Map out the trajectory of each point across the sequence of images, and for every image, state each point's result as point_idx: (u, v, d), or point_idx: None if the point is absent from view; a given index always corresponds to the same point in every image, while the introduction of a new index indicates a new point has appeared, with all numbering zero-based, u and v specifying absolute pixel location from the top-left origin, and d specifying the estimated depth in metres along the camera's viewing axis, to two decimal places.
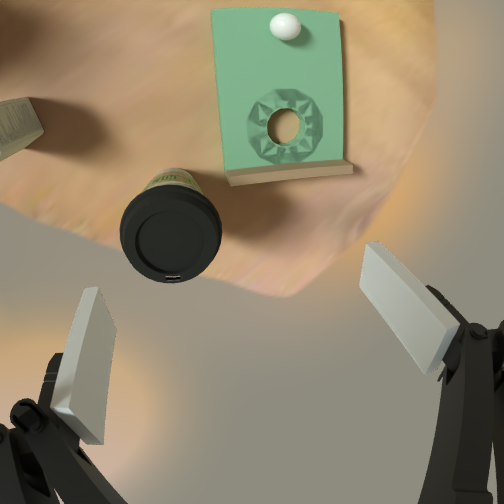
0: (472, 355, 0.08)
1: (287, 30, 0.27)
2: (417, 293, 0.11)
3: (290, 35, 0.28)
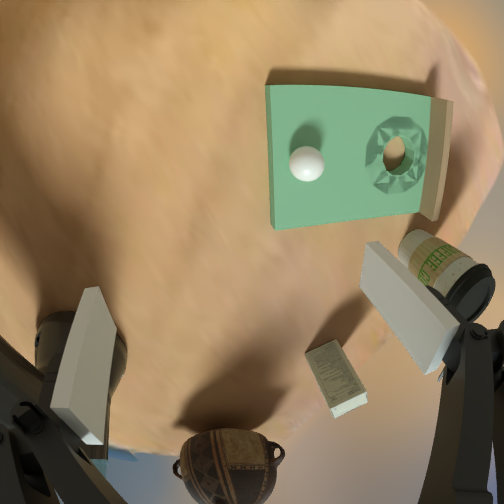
0: (472, 355, 0.08)
1: (320, 170, 0.29)
2: (417, 293, 0.11)
3: (323, 164, 0.29)
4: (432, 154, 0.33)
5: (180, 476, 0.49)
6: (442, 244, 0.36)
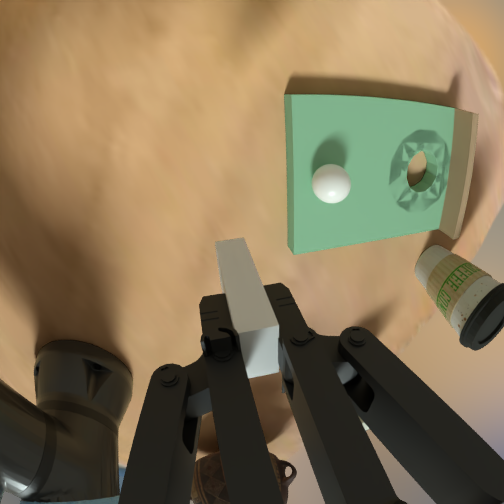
0: (303, 367, 0.09)
1: (346, 191, 0.26)
2: (248, 290, 0.12)
3: (350, 184, 0.26)
4: (455, 169, 0.30)
5: None
6: (462, 262, 0.34)
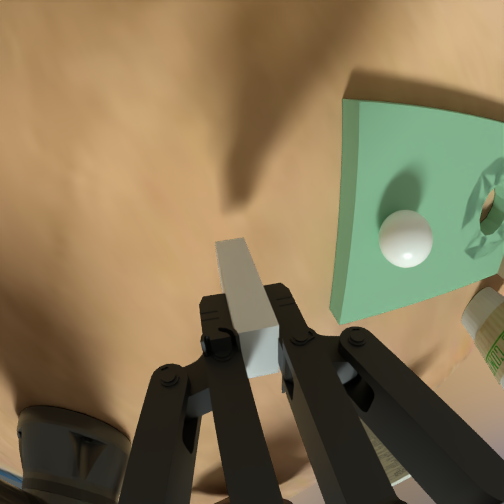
0: (303, 367, 0.09)
1: (428, 252, 0.16)
2: (248, 290, 0.12)
3: (432, 241, 0.17)
4: None
5: None
6: None
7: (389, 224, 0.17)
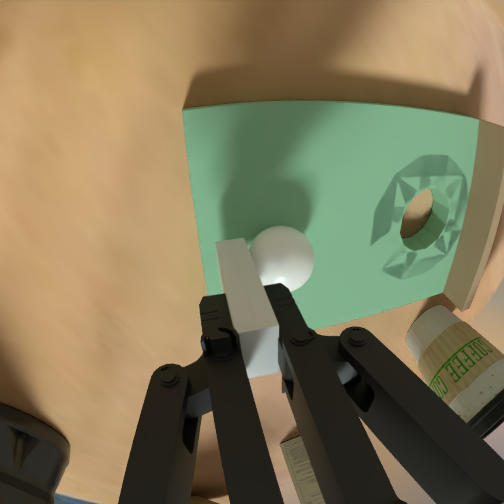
0: (303, 367, 0.09)
1: (312, 267, 0.16)
2: (248, 290, 0.12)
3: None
4: (475, 213, 0.19)
5: None
6: (469, 337, 0.23)
7: (259, 251, 0.15)
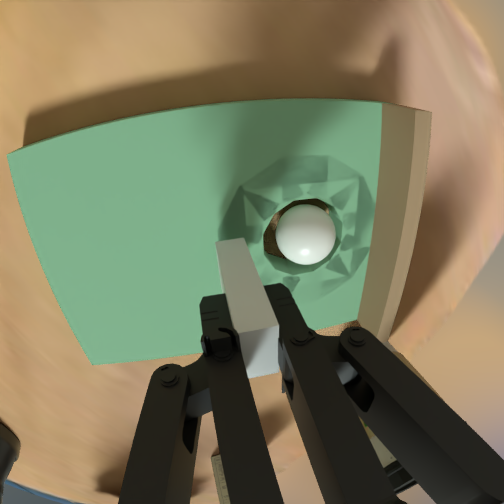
0: (303, 367, 0.09)
1: None
2: (248, 290, 0.12)
3: None
4: (382, 227, 0.18)
5: None
6: None
7: (305, 229, 0.17)
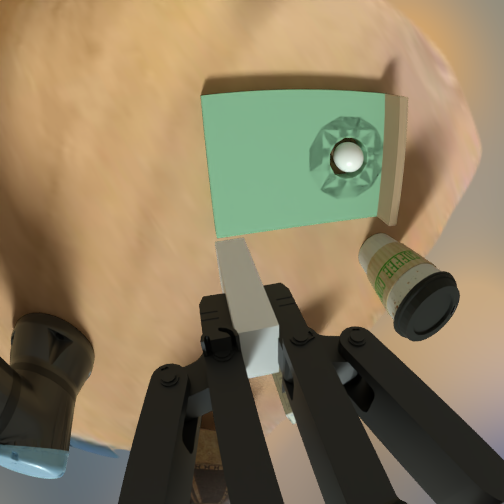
0: (303, 367, 0.09)
1: None
2: (248, 290, 0.12)
3: None
4: (387, 155, 0.33)
5: None
6: (402, 250, 0.37)
7: (349, 151, 0.32)
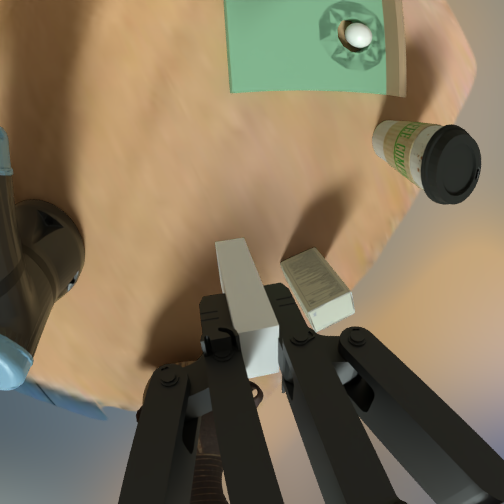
0: (303, 367, 0.09)
1: None
2: (248, 290, 0.12)
3: None
4: (389, 36, 0.29)
5: None
6: None
7: (362, 26, 0.28)
